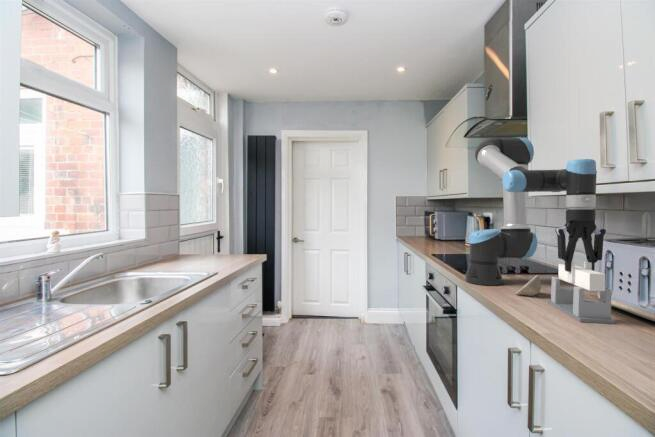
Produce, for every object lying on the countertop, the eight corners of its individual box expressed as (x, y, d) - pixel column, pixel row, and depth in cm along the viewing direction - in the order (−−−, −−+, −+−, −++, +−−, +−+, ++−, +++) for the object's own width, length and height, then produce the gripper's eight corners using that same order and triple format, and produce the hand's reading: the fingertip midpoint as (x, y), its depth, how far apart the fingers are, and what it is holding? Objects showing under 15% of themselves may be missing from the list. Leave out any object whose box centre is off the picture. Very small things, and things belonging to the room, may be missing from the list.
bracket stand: (548, 302, 118) (548, 275, 117) (576, 303, 116) (577, 276, 116) (580, 322, 98) (580, 290, 98) (615, 323, 96) (615, 291, 96)
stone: (509, 294, 133) (520, 273, 134) (526, 304, 131) (537, 282, 133) (521, 292, 123) (532, 269, 125) (539, 302, 121) (550, 278, 123)
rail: (558, 278, 115) (558, 264, 115) (571, 278, 115) (571, 264, 115) (589, 290, 98) (589, 273, 98) (605, 291, 97) (605, 273, 97)
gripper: (556, 209, 103) (555, 283, 104) (619, 208, 100) (617, 285, 101) (545, 208, 111) (544, 278, 112) (603, 208, 108) (602, 280, 109)
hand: (579, 281), depth 106 cm, fingers closed on rail, 4 cm apart
